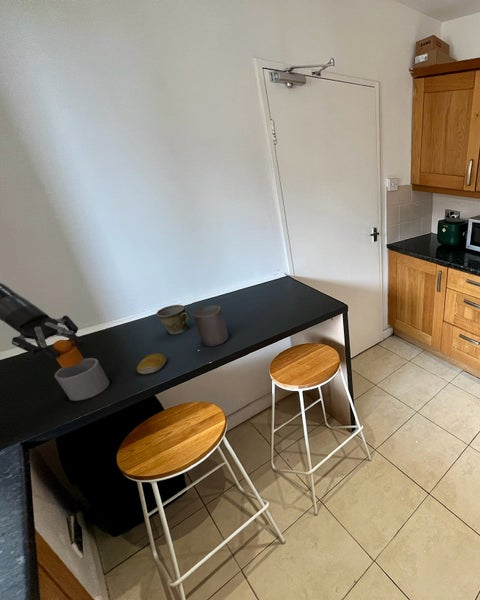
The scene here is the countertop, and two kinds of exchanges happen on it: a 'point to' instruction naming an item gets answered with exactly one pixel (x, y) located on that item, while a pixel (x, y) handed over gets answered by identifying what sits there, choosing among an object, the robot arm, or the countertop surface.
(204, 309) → the grey canister
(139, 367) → the bread roll
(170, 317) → the ceramic cup
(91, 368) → the pot
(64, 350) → the duck
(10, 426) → the countertop surface
